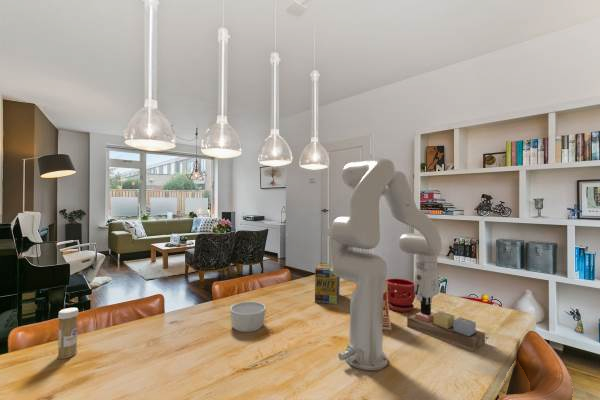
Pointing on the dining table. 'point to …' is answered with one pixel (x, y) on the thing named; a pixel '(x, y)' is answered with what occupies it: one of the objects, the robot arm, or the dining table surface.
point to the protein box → (326, 284)
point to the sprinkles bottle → (67, 332)
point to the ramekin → (247, 316)
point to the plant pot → (400, 294)
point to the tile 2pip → (443, 319)
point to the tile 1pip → (464, 326)
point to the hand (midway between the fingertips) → (425, 313)
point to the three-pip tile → (425, 317)
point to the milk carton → (386, 309)
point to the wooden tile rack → (447, 334)
